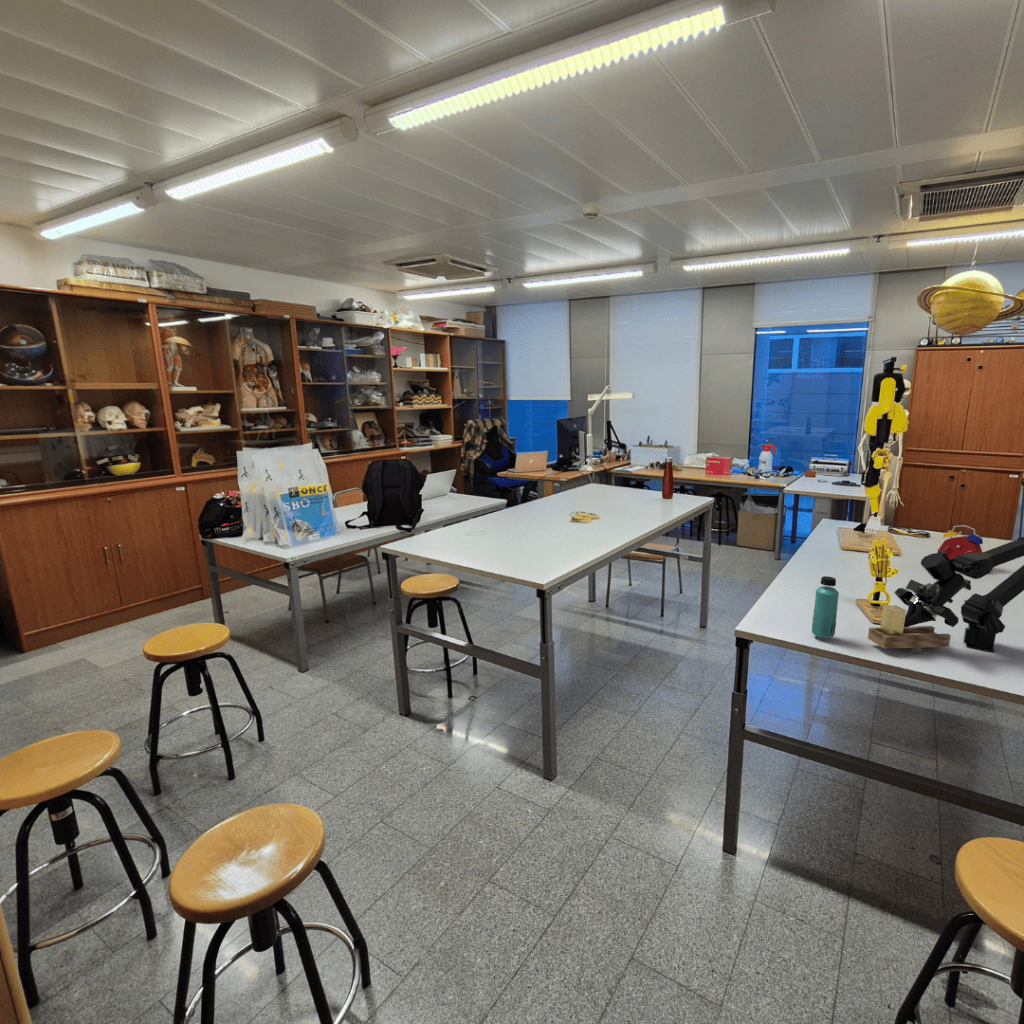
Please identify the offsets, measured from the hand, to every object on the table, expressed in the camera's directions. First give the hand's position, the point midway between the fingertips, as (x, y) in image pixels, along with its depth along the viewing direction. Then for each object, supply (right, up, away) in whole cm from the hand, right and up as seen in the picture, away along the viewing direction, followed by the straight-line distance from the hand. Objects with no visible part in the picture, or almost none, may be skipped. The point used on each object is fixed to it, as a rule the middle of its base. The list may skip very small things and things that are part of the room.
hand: (903, 625), depth 165 cm
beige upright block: (-4, -3, 0) cm, 5 cm away
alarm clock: (+79, +8, +78) cm, 112 cm away
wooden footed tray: (+2, -7, +2) cm, 8 cm away
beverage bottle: (-19, -6, +9) cm, 22 cm away
